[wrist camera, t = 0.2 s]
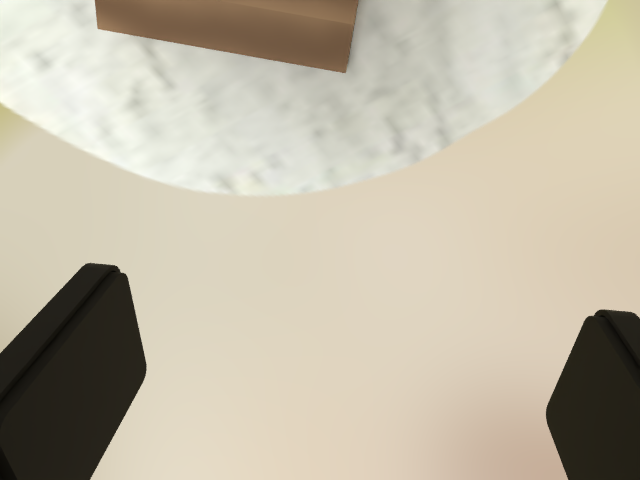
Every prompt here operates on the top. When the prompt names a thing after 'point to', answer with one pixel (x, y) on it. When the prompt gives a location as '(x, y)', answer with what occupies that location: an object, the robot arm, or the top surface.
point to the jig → (243, 26)
